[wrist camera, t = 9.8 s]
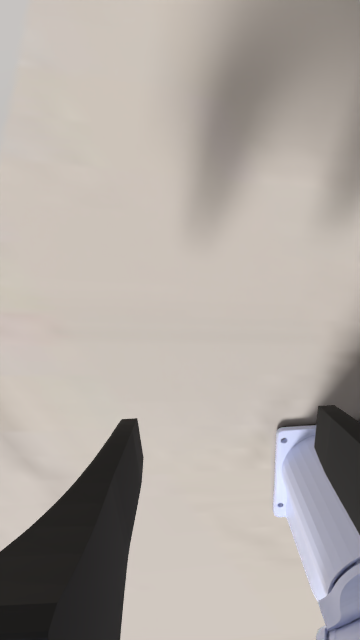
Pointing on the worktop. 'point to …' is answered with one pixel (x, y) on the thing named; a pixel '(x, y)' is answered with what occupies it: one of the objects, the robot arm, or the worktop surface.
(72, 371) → the worktop surface
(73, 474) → the worktop surface
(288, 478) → the robot arm
